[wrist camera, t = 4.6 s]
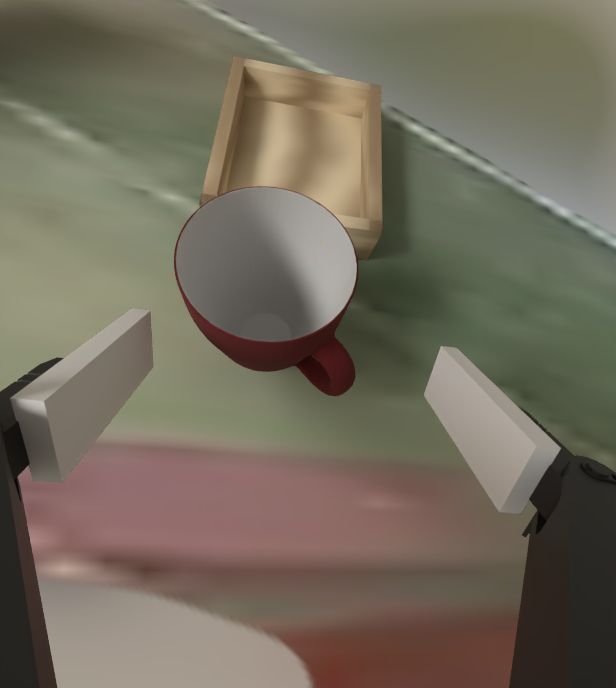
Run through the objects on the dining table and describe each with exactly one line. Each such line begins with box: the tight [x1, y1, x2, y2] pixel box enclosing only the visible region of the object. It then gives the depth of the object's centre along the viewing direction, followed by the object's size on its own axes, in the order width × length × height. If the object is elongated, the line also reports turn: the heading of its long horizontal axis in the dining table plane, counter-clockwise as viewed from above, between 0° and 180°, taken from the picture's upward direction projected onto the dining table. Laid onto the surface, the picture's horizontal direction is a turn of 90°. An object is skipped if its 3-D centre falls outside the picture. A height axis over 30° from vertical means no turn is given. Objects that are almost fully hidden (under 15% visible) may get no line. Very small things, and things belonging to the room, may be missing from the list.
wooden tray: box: [199, 56, 382, 260], centre depth 27 cm, size 13×16×4 cm
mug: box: [174, 186, 358, 396], centre depth 19 cm, size 11×8×10 cm
